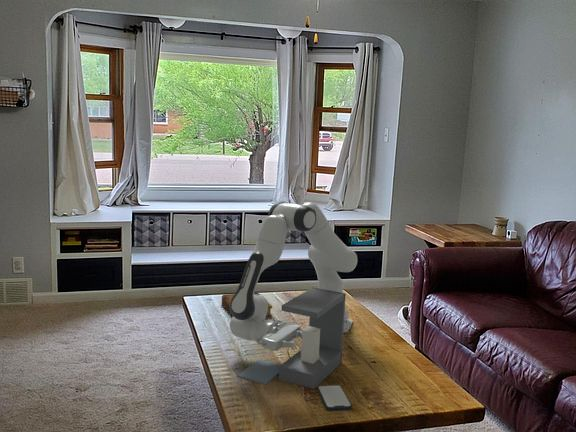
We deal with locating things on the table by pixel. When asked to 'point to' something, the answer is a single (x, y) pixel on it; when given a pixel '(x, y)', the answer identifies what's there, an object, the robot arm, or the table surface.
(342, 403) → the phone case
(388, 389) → the table surface
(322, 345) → the grey c-shaped bracket
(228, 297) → the diary
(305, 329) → the block
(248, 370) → the mat
